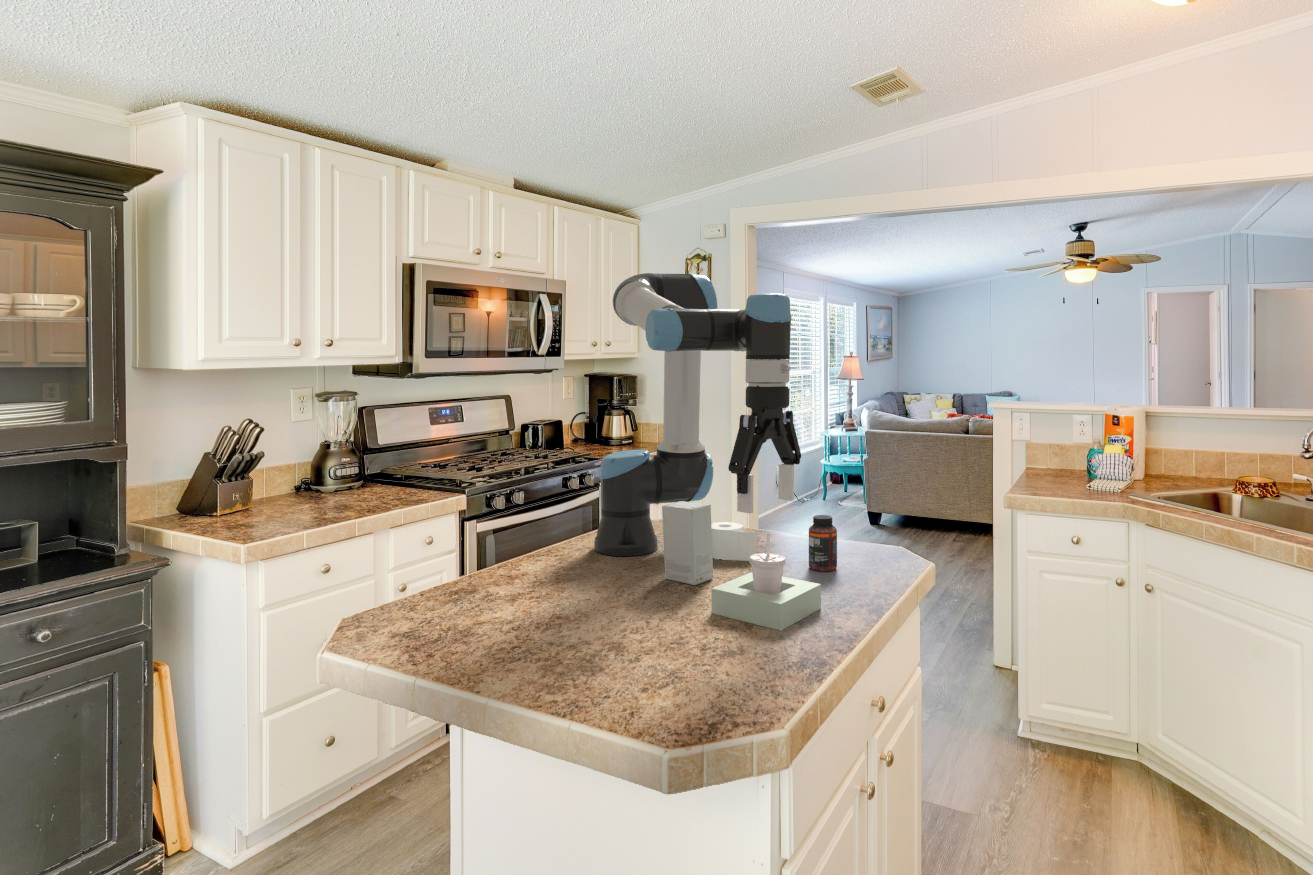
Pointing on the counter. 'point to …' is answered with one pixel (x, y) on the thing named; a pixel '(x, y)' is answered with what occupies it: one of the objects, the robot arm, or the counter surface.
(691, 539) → the skincare box
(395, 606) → the counter surface
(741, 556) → the toilet paper
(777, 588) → the smoothie
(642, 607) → the counter surface
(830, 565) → the supplement bottle
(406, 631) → the counter surface
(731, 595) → the block
